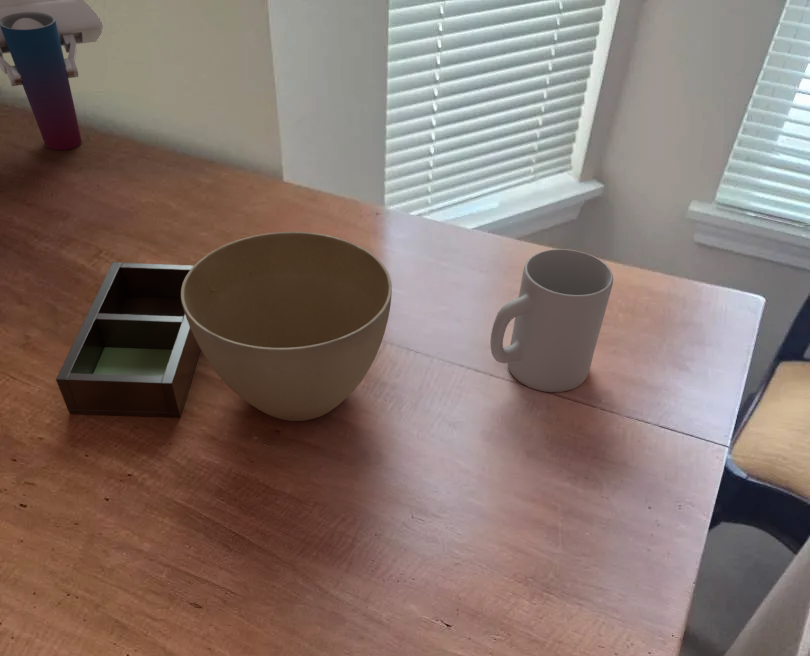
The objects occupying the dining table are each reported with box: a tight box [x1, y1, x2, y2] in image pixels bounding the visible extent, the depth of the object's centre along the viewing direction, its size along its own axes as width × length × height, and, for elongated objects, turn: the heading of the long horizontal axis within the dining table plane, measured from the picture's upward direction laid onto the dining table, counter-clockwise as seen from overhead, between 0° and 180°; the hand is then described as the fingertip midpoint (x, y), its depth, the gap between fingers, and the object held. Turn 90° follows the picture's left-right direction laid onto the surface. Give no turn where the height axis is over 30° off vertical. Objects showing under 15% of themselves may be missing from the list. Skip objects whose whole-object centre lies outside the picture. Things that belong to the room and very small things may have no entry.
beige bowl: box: [181, 231, 393, 422], centre depth 70 cm, size 18×18×12 cm
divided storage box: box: [55, 261, 202, 419], centre depth 76 cm, size 10×20×4 cm, turn 179°
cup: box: [0, 12, 83, 151], centre depth 102 cm, size 7×7×15 cm
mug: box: [490, 248, 614, 393], centre depth 74 cm, size 12×8×11 cm
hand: (45, 79), depth 101 cm, fingers closed on cup, 6 cm apart
